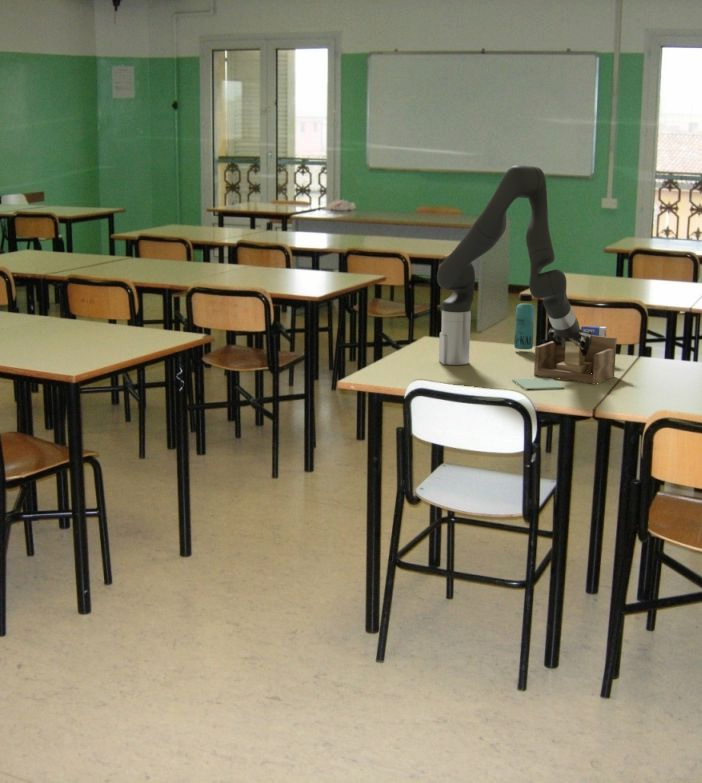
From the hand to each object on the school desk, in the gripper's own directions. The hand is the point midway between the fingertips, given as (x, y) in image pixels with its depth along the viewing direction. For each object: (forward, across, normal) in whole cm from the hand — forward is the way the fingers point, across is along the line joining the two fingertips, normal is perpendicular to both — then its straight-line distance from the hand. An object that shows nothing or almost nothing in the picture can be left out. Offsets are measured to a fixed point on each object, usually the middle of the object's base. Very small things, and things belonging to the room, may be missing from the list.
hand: (577, 352), depth 329 cm
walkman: (+21, +4, -10) cm, 24 cm away
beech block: (+1, 0, +4) cm, 4 cm away
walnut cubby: (+4, 0, +6) cm, 7 cm away
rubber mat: (-9, +4, +19) cm, 21 cm away
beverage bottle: (+22, +30, -12) cm, 39 cm away
